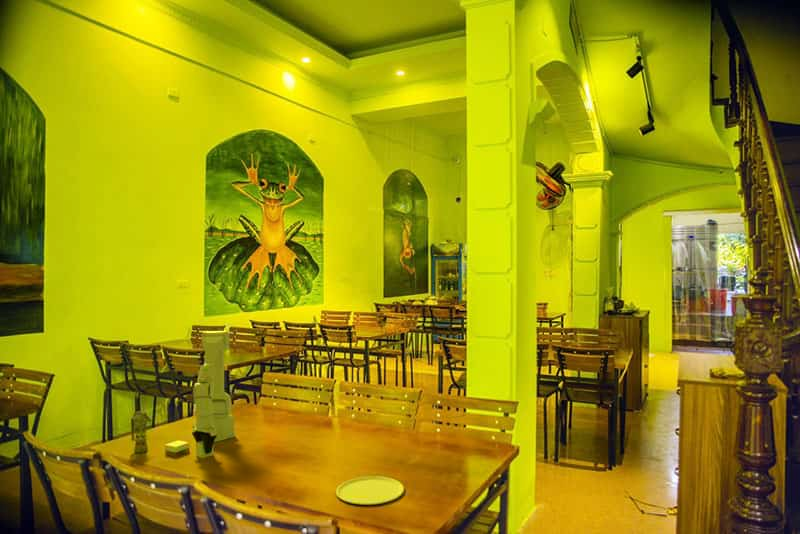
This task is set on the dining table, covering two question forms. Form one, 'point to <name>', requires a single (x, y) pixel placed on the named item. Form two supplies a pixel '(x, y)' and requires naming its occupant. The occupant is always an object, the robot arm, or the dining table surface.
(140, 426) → the grenade
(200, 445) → the sage block
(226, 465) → the dining table surface
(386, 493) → the plate
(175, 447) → the cream slab
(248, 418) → the dining table surface
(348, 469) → the dining table surface
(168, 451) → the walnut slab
